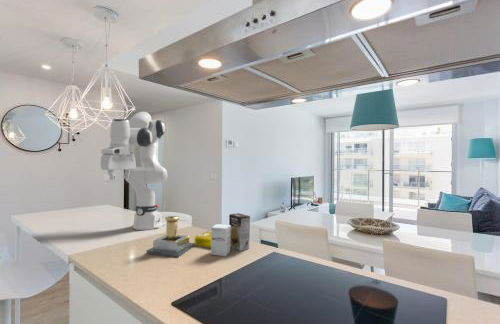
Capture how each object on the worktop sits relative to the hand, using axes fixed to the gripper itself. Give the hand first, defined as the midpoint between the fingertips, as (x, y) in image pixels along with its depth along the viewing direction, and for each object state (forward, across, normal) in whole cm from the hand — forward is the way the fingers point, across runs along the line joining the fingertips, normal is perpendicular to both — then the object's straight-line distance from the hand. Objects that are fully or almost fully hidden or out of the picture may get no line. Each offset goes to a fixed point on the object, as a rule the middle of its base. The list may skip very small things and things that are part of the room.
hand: (119, 179), depth 126 cm
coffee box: (+33, -14, +58) cm, 68 cm away
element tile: (+34, -18, +43) cm, 57 cm away
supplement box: (+33, -4, +52) cm, 62 cm away
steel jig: (+33, -2, +28) cm, 43 cm away
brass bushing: (+32, -2, +28) cm, 42 cm away
